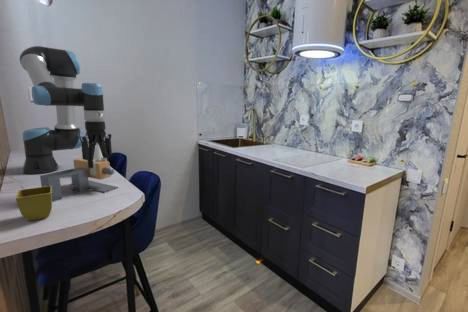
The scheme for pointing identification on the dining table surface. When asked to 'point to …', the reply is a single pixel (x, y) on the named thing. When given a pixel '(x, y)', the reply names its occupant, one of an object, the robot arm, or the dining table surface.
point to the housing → (77, 175)
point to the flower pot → (35, 202)
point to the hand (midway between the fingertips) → (99, 173)
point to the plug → (101, 168)
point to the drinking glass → (97, 153)
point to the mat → (100, 187)
